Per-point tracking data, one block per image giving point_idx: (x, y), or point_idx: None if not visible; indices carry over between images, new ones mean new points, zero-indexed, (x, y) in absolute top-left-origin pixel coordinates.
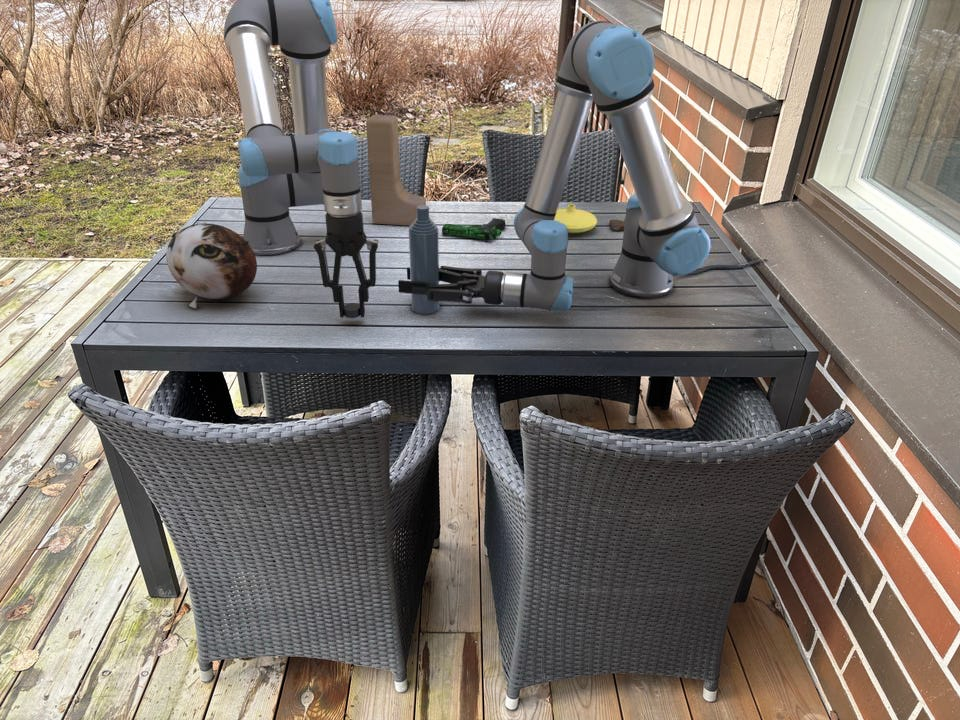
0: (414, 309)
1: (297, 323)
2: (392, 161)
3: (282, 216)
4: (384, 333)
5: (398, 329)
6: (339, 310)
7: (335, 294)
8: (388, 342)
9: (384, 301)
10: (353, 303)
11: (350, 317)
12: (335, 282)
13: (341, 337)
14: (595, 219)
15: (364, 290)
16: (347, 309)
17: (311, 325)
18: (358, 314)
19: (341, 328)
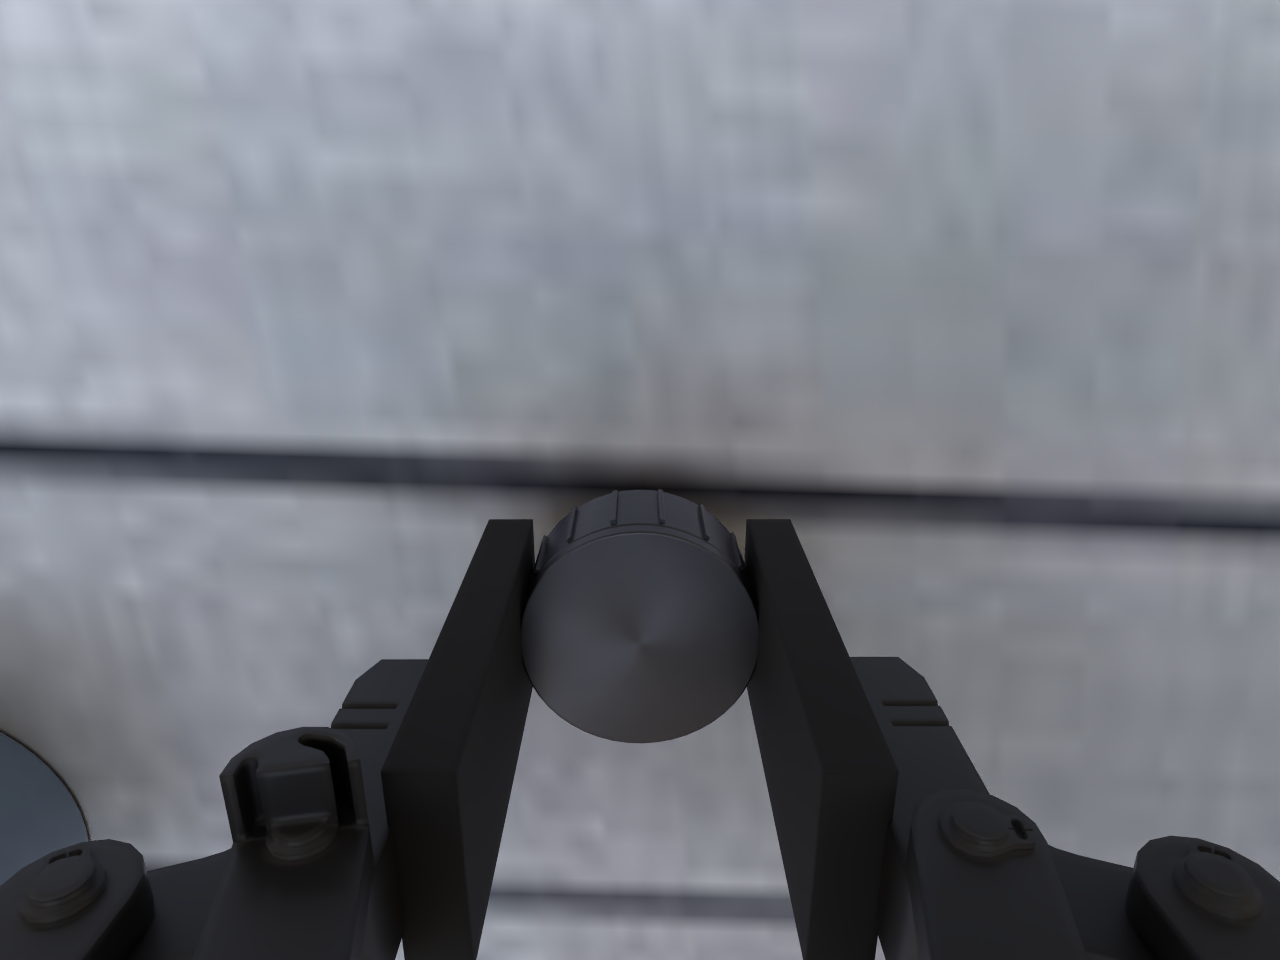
0: (15, 769)
1: (1248, 549)
2: None
3: None
4: (245, 288)
5: (104, 382)
6: (808, 563)
7: (914, 745)
8: (141, 41)
9: None
10: (629, 734)
11: (654, 492)
12: (996, 939)
13: (748, 200)
14: None
15: (302, 736)
16: (695, 570)
17: (1098, 502)
18: (552, 538)
19: (762, 424)
